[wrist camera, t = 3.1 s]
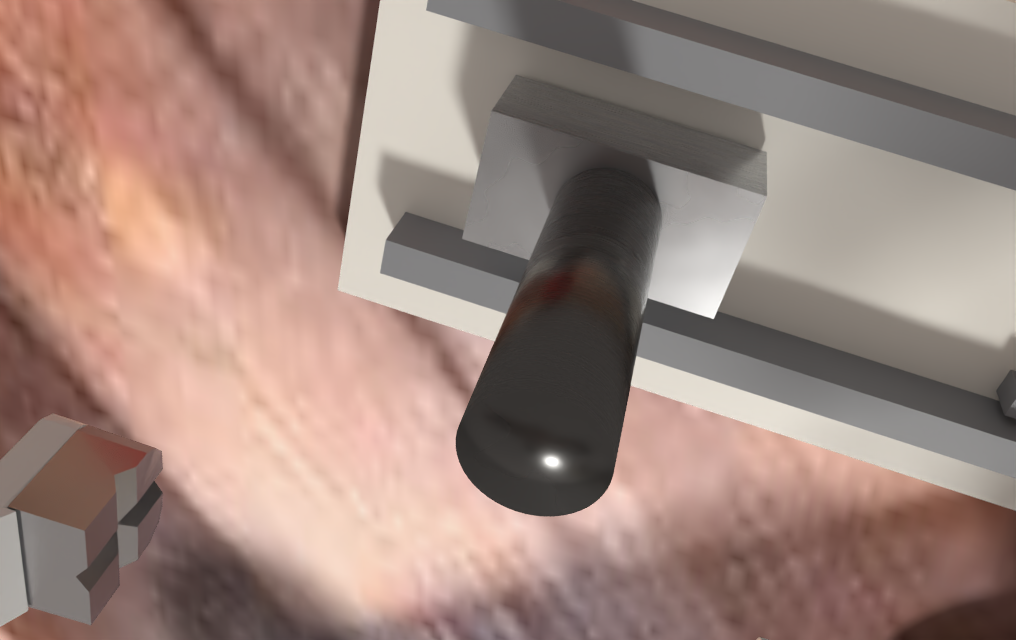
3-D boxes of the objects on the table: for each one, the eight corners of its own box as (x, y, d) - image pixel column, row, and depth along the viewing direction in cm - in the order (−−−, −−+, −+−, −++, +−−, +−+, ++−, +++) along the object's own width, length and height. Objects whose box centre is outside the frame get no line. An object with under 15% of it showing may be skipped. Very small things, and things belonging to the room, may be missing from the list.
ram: (766, 151, 21) (768, 442, 13) (717, 267, 23) (692, 589, 15) (515, 74, 22) (358, 308, 13) (487, 194, 24) (331, 467, 15)
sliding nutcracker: (1572, 153, 19) (1878, 320, 14) (1201, 537, 26) (1312, 747, 21) (427, -183, 21) (312, -146, 16) (356, 264, 28) (259, 396, 22)
